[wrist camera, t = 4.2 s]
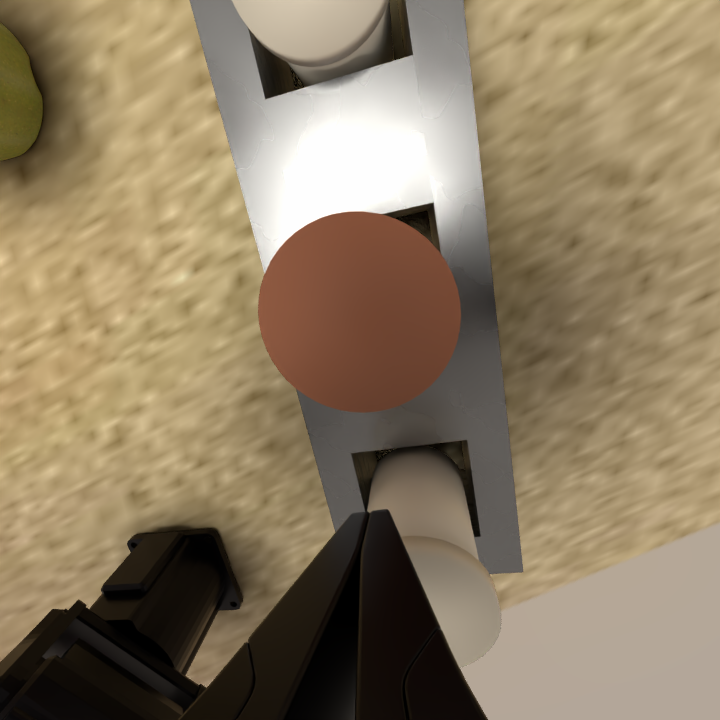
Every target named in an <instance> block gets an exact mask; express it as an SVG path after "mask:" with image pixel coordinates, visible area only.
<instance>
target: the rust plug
mask: <svg viewBox="0 0 720 720" xmlns="http://www.w3.org/2000/svg"><path fill="white" fill-rule="evenodd" d="M258 315H259V325H260V330H261V334H262V338H263V341H264V344H265V346H266V349H267V351H268V353H269V355H270V357H271V359H272V361H273V362H274V364H275V365H276V367H277V368H278V370H279V371H280V373H281V374H282V375H283V376H284V377H285V378H286V380H287V381H288V382H289V383H291V384H292V385H293V386H294V387H295V388H296V389H297V390H299V391H300V392H301V393H303V394H304V395H305V396H307V397H309V398H311V399H312V400H314V401H316V402H318V403H320V404H323V405H325V406H327V407H331V408H334V409H338V410H342V411H348V412H361V413H366V412H377V411H382V410H387V409H391V408H394V407H397V406H400V405H402V404H404V403H406V402H408V401H410V400H412V399H414V398H415V397H417V396H418V395H420V394H421V393H423V392H424V391H425V390H426V389H427V388H428V387H430V386H431V385H432V384H433V383H434V382H435V380H436V379H437V378H438V377H439V376H440V375H441V373H442V372H443V370H444V369H445V368H446V366H447V364H448V362H449V360H450V359H451V357H452V355H453V352H454V349H455V347H456V344H457V340H458V336H459V331H460V322H461V308H460V299H459V294H458V289H457V285H456V283H455V280H454V277H453V274H452V272H451V270H450V268H449V266H448V264H447V263H446V261H445V259H444V258H443V257H442V255H441V254H440V252H439V251H438V250H437V249H436V247H435V246H434V245H433V244H432V243H431V242H430V241H429V240H428V239H427V238H426V237H424V236H423V235H422V234H421V233H419V232H418V231H417V230H415V229H414V228H412V227H411V226H409V225H407V224H406V223H404V222H401V221H399V220H397V219H394V218H392V217H389V216H386V215H382V214H378V213H372V212H364V211H348V212H342V213H335V214H331V215H328V216H325V217H322V218H319V219H317V220H315V221H313V222H311V223H309V224H307V225H305V226H304V227H302V228H301V229H299V230H298V231H296V232H295V233H294V234H293V235H292V236H291V237H289V238H288V239H287V240H286V241H285V242H284V243H283V245H282V246H281V247H280V248H279V249H278V251H277V252H276V254H275V255H274V257H273V258H272V260H271V261H270V263H269V266H268V268H267V270H266V272H265V274H264V278H263V281H262V284H261V288H260V294H259V305H258Z"/></svg>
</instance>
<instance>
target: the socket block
mask: <svg viewBox="0 0 720 720" xmlns="http://www.w3.org/2000/svg"><path fill="white" fill-rule="evenodd" d="M190 3H191V7H192V11H193V14H194V18H195V22H196V25H197V29H198V33H199V36H200V40H201V44H202V47H203V51H204V55H205V58H206V62H207V65H208V69H209V73H210V76H211V80H212V84H213V87H214V91H215V95H216V98H217V102H218V106H219V109H220V113H221V117H222V120H223V124H224V127H225V131H226V135H227V138H228V142H229V146H230V149H231V153H232V157H233V160H234V164H235V168H236V171H237V175H238V179H239V182H240V186H241V189H242V193H243V197H244V200H245V204H246V208H247V211H248V215H249V219H250V222H251V226H252V230H253V233H254V237H255V241H256V244H257V248H258V251H259V255H260V259H261V262H262V266H263V270H264V273H265V272H266V270H267V268H268V266H269V263H270V261H271V260H272V258H273V257H274V255H275V254H276V252H277V251H278V249H279V248H280V247H281V246H282V245H283V243H284V242H285V241H286V240H287V239H288V238H289V237H291V236H292V235H293V234H294V233H295V232H296V231H298V230H299V229H301V228H302V227H304V226H305V225H307V224H309V223H311V222H313V221H315V220H317V219H319V218H322V217H325V216H328V215H331V214H335V213H342V212H348V211H364V212H372V213H378V214H382V215H386V216H389V217H392V218H396V217H401V216H405V215H410V214H414V213H419V212H423V211H427V210H428V217H429V224H430V231H431V238H432V244H433V245H434V246H435V247H436V249H437V250H438V251H439V252H440V254H441V255H442V257H443V258H444V259H445V261H446V263H447V264H448V266H449V268H450V270H451V272H452V274H453V277H454V280H455V283H456V285H457V289H458V294H459V299H460V308H461V322H460V331H459V336H458V340H457V344H456V347H455V349H454V352H453V355H452V357H451V359H450V360H449V362H448V364H447V366H446V368H445V369H444V370H443V372H442V373H441V375H440V376H439V377H438V378H437V379H436V380H435V382H434V383H433V384H432V385H431V386H430V387H428V388H427V389H426V390H425V391H424V392H423V393H421V394H420V395H418V396H417V397H415V398H414V399H412V400H410V401H408V402H406V403H404V404H402V405H400V406H397V407H394V408H391V409H387V410H382V411H377V412H366V413H361V412H348V411H342V410H338V409H334V408H331V407H327V406H325V405H323V404H320V403H318V402H316V401H314V400H312V399H311V398H309V397H307V396H305V395H304V394H303V393H301V392H300V391H299V390H297V389H296V390H297V394H298V397H299V401H300V405H301V408H302V412H303V416H304V419H305V423H306V427H307V430H308V434H309V437H310V441H311V445H312V448H313V452H314V456H315V459H316V463H317V467H318V470H319V474H320V478H321V481H322V485H323V489H324V492H325V496H326V499H327V503H328V507H329V510H330V514H331V518H332V521H333V525H334V529H335V532H337V530H338V529H339V528H340V527H341V525H342V524H343V523H344V522H345V521H346V519H347V518H348V517H349V516H350V515H351V514H352V513H357V512H365V511H367V509H368V503H369V496H370V490H371V483H372V477H373V472H374V469H375V467H376V465H377V463H378V462H377V458H376V453H375V450H384V449H392V448H401V447H410V446H418V445H427V444H436V443H444V442H453V441H461V443H462V450H463V457H464V464H465V470H459V471H460V473H461V477H462V481H463V486H464V491H465V496H466V501H467V506H468V510H469V515H470V520H471V525H472V530H473V534H474V539H475V544H476V549H477V554H478V558H479V561H480V562H481V563H482V565H483V566H484V567H485V568H486V569H487V571H488V573H489V574H498V573H517V572H523V564H522V555H521V545H520V536H519V526H518V517H517V507H516V498H515V488H514V478H513V469H512V459H511V450H510V440H509V431H508V421H507V412H506V402H505V393H504V383H503V373H502V364H501V354H500V345H499V335H498V326H497V316H496V307H495V297H494V288H493V278H492V268H491V259H490V249H489V240H488V230H487V221H486V211H485V202H484V192H483V183H482V173H481V164H480V154H479V144H478V135H477V125H476V116H475V106H474V97H473V87H472V78H471V68H470V59H469V49H468V39H467V30H466V20H465V11H464V1H463V0H397V5H398V11H399V18H400V25H401V32H402V39H403V46H404V53H405V58H401V59H398V60H395V61H391V62H388V63H385V64H381V65H378V66H375V67H371V68H368V69H365V70H361V71H358V72H355V73H351V74H348V75H345V76H342V77H338V78H335V79H332V80H328V81H325V82H322V83H318V84H315V85H312V86H308V87H305V88H302V89H298V90H295V87H294V82H293V78H292V73H291V69H290V65H289V64H288V63H287V62H286V61H284V60H282V59H280V58H279V57H277V56H275V55H274V54H272V53H271V52H270V51H269V50H268V49H266V48H265V47H264V46H263V45H262V44H261V43H260V41H259V40H258V39H257V38H256V37H255V36H254V34H253V33H252V32H251V31H250V29H249V28H248V27H247V25H246V24H245V23H244V21H243V20H242V18H241V17H240V15H239V13H238V12H237V10H236V8H235V6H234V4H233V2H232V0H190Z"/></svg>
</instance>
